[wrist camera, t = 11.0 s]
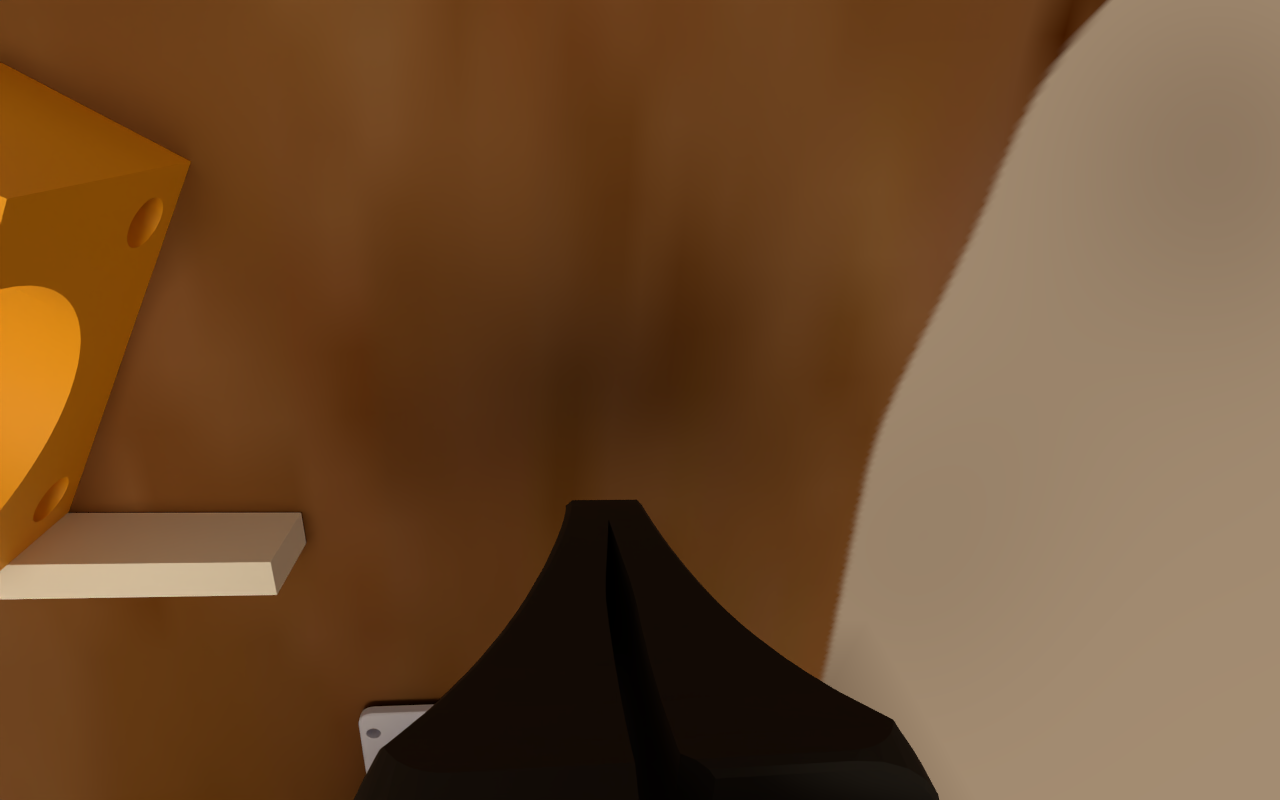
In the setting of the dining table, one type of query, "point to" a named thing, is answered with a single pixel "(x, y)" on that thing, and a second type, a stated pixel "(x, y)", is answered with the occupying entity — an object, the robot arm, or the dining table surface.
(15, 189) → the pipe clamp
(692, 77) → the dining table surface
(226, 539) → the bracket
